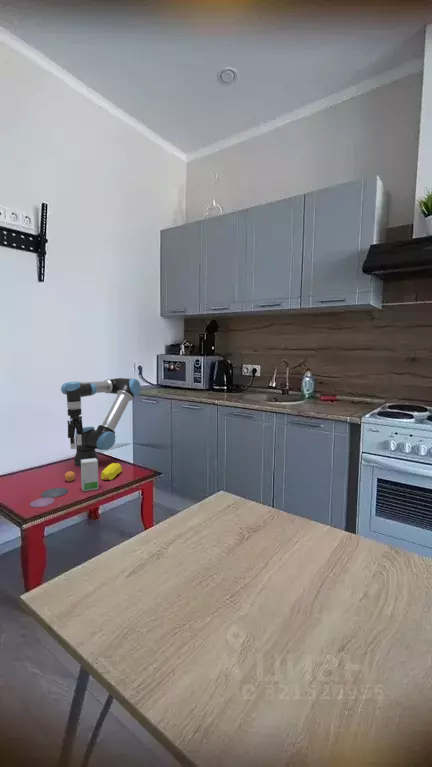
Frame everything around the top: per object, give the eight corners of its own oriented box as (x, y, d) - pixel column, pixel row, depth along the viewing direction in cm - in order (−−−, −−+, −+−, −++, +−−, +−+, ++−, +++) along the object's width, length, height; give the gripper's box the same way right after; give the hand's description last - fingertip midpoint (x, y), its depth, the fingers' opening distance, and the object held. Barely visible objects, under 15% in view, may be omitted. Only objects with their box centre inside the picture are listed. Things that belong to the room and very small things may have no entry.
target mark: (49, 487, 200) (49, 487, 200) (72, 488, 199) (72, 487, 199) (35, 497, 187) (35, 497, 187) (60, 498, 186) (60, 497, 186)
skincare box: (82, 491, 194) (81, 463, 192) (81, 487, 199) (79, 459, 198) (99, 488, 197) (98, 460, 196) (97, 484, 203) (95, 457, 202)
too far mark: (37, 497, 187) (37, 497, 187) (58, 498, 186) (58, 497, 186) (24, 507, 176) (24, 506, 176) (47, 507, 175) (47, 507, 175)
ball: (67, 479, 213) (67, 469, 212) (77, 479, 212) (76, 469, 212) (63, 482, 207) (62, 473, 207) (72, 482, 207) (72, 473, 206)
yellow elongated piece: (124, 471, 225) (112, 471, 226) (123, 460, 225) (111, 460, 226) (111, 482, 208) (98, 481, 209) (111, 470, 207) (98, 470, 208)
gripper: (76, 405, 225) (77, 442, 228) (59, 411, 205) (61, 451, 208) (87, 405, 225) (89, 442, 227) (72, 411, 205) (74, 451, 207)
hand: (76, 446), depth 217 cm, fingers open, 7 cm apart
